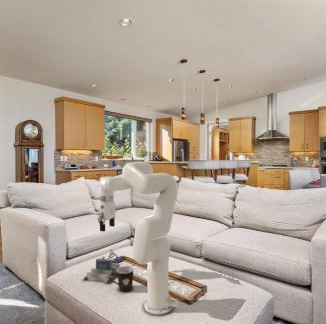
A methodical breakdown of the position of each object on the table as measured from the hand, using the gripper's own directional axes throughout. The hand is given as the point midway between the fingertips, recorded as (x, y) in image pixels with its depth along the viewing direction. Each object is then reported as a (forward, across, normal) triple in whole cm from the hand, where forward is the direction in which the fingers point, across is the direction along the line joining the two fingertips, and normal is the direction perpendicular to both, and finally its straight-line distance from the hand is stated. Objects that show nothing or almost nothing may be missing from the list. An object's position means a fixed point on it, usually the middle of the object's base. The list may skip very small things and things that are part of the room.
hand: (107, 228), depth 144 cm
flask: (+27, 0, +3) cm, 27 cm away
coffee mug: (+27, -10, -15) cm, 32 cm away
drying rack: (+27, 0, +3) cm, 27 cm away
